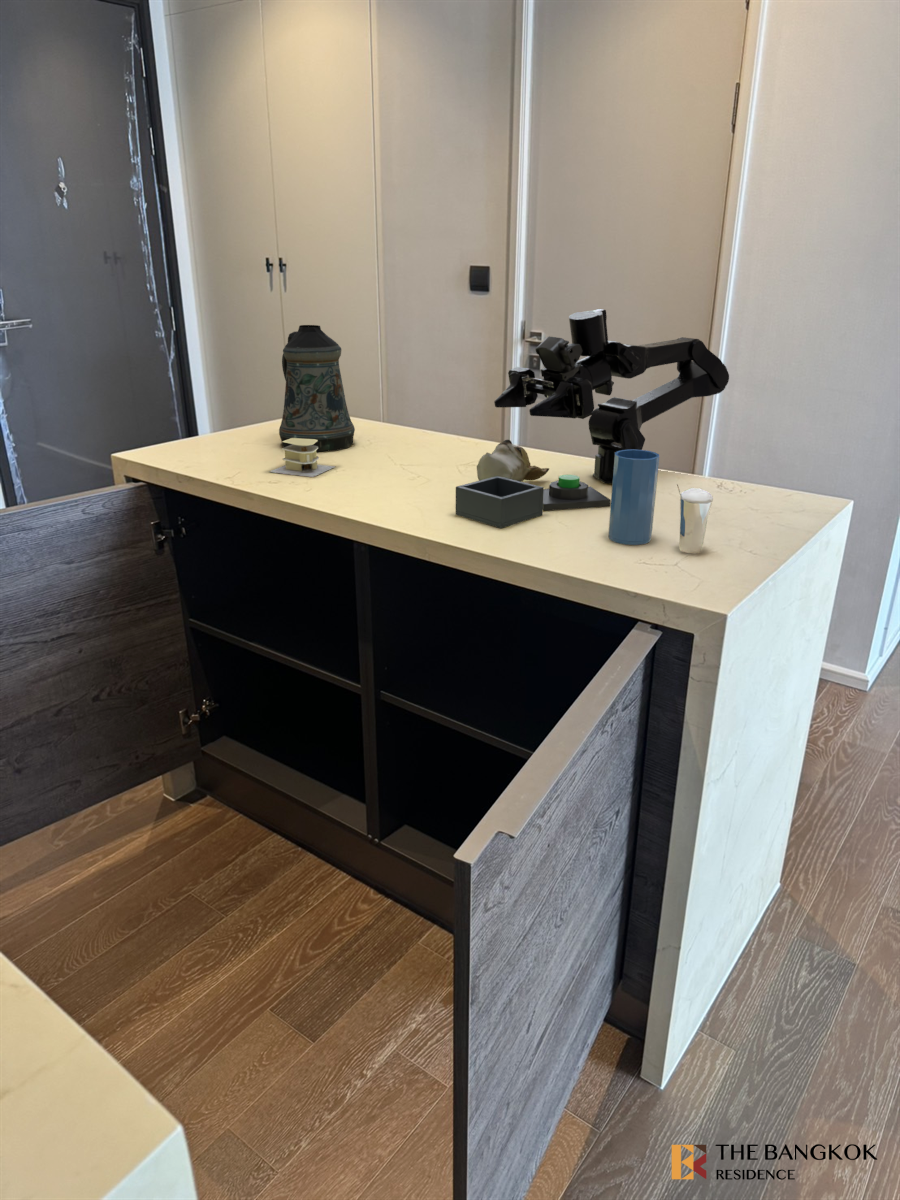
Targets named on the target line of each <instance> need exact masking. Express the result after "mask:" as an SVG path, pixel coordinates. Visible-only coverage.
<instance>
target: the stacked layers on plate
mask: <svg viewBox="0 0 900 1200" xmlns="http://www.w3.org/2000/svg"><path fill="white" fill-rule="evenodd" d="M317 441H318V440H316V439H302V438H290V439H288V440H285V441H281V443H282V442H285V443H289V444H292V445H289V446H287V447H282V448H281V450H282V451H284V457H283V458H282V461H284V465H282V466H279V467H277V468H274V469H272V470H270V471H268V472H269V473H276V474H284V475H292V476H301V477H310V478H314V477H316V476H319V475H321V474H323V473H326V472H327V471H330V470H332V469H334V468H337V466H335V465H328V464H327V465H326V464H318V460H319V459H320V457H319V456H318V452H316V450H317V449H318V446H312V445H313V444H315V443H316V442H317Z"/></svg>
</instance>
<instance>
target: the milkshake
mask: <svg viewBox="0 0 900 1200" xmlns="http://www.w3.org/2000/svg"><path fill="white" fill-rule="evenodd" d="M676 487H677V491H678V493H679V518H680V519H679V540H678V541H679V544H678V550H679V551H680V552H682V553H686V554H691V555H692V554H699V553H702V551H703V545H704V541H705V537H706V531H707V526H708V521H709V517H710V513H711V510H712V505H713V500H714V497H713V495H712V493H711V492H709V491H708V490H704V489H703V488H700V487H699V488H698V487H697V488H696V487H690V488H688V489H686V490H683V491H682V492H681V490H680V487H679V484H678V483H676Z"/></svg>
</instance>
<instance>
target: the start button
mask: <svg viewBox="0 0 900 1200" xmlns="http://www.w3.org/2000/svg"><path fill="white" fill-rule="evenodd" d="M558 480H559V481H558V486H559V487H563V488H577V487H579V483H580V482H581V481H580V480H581V477H580V476H579V475H575V474H561V475H559V476H558Z"/></svg>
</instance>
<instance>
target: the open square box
mask: <svg viewBox="0 0 900 1200" xmlns="http://www.w3.org/2000/svg"><path fill="white" fill-rule="evenodd" d="M544 489H545V487H544V486H540V485H536V484H532V483H528V482H524V481H521V482H520V481H516V480H512V479H508V478H504V477H500V476H495V477H491V478H487V479H484V480H480V481H479V480H476V481H472V482H469V483H464V484H462V485H457V486H455V516H459V517H462V518H465V519H468V520H471V521H475V522H479V523H481V524H485V525H488V526H491V527H495V528H499V529H504V528H507V527H510V526H513V525H517V524H519V523H523V522H526V521H529V520H532V519H536V518H538V517H542V516H543V514H544V513H543V512H544V511H543V491H544Z"/></svg>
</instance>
